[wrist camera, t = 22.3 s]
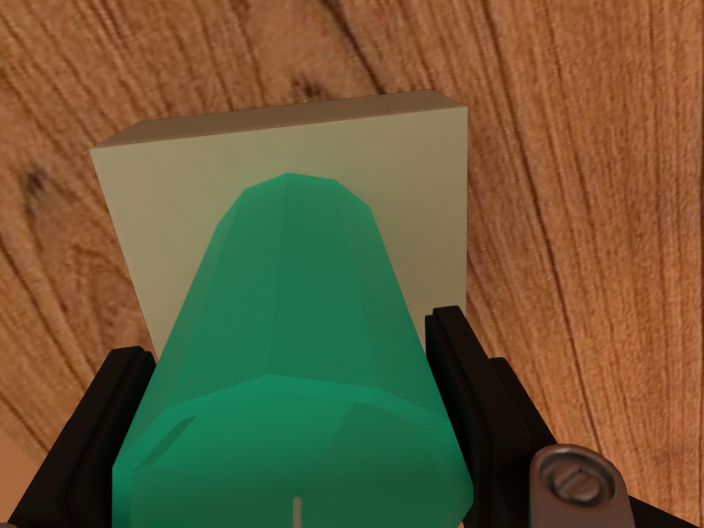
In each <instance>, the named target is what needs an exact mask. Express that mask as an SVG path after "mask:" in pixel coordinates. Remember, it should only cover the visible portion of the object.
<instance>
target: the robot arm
mask: <svg viewBox="0 0 704 528" xmlns="http://www.w3.org/2000/svg"><path fill="white" fill-rule="evenodd" d="M425 346H426V358H427V361H428V363H429V366H430V369H431V371H432V374H433V377H434V379H435V382H436V385H437V387H438V390H439V393H440V395H441V398H442V401H443V403H444V406H445V409H446V411H447V414H448V417H449V419H450V422H451V425H452V428H453V430H454V433H455V436H456V439H457V441H458V444H459V447H460V450H461V452H462V455H463V458H464V461H465V463H466V466H467V469H468V472H469V474H470V477H471V480H472V483H473V496H474V498H473V504H472V507H471V508H470V509H469V511H468V512H467V514H466V515H465V517H464V518H463V520H462V522H463V525H464V528H700V527H697V526H695V525H693V524H691V523H689V522H687V521H684V520H682V519H680V518H678V517H676V516H673V515H671V514H669V513H667V512H665V511H662V510H660V509H658V508H656V507H654V506H651V505H649V504H647V503H645V502H643V501H640V500H638V499H636V498H634V497H632V496H629V495H628V492H627V488H626V484H625V482H624V480H623V477H622V475H621V473H620V472H619V471H618V470H617V468H616V467H615V466H614V465H613V464H612V462H610V461H609V460H607V459H606V458H605V457H603V456H602V455H601V454H599V453H597V452H595V451H593V450H591V449H589V448H586V447H583V446H579V445H575V444H558V443H557V441H556V440H555V438H554V437H553V435H552V433H551V432H550V430H549V428H548V427H547V425H546V423H545V422H544V420H543V419H542V417H541V415H540V414H539V412H538V410H537V409H536V407H535V405H534V404H533V402H532V401H531V399H530V397H529V396H528V394H527V392H526V391H525V389H524V388H523V386H522V384H521V383H520V381H519V379H518V378H517V376H516V374H515V373H514V371H513V370H512V368H511V366H510V365H509V363H508V362H507V360H506V359H505V358H503V357H498V358H490V359H488V357H487V355H486V353H485V352H484V350H483V348H482V346H481V345H480V343H479V341H478V339H477V337H476V336H475V334H474V332H473V330H472V328H471V327H470V325H469V323H468V321H467V319H466V318H465V316H464V314H463V312H462V311H461V309H460V307H459V306H458V305H453V306H445V307H437V308H433V312H432V315H426V316H425ZM155 368H156V363H155V360H154V357H153V355H152V353H151V352H150V351H145V352H144V350H143V348H142V347H140V346H133V347H125V348H118V349H113V350H111V351H110V353H109V354H108V356H107V358H106V359H105V361H104V363H103V364H102V366H101V368H100V369H99V371H98V373H97V374H96V376H95V378H94V379H93V381H92V383H91V384H90V386H89V388H88V389H87V391H86V393H85V395H84V396H83V398H82V400H81V401H80V403H79V405H78V406H77V408H76V410H75V411H74V413H73V415H72V416H71V418H70V419H69V420H68V422H67V423H66V425H65V427H64V428H63V430H62V432H61V433H60V435H59V437H58V438H57V440H56V442H55V443H54V445H53V447H52V448H51V450H50V452H49V453H48V455H47V457H46V458H45V460H44V462H43V463H42V465H41V467H40V468H39V470H38V472H37V473H36V475H35V477H34V478H33V480H32V482H31V483H30V485H29V487H28V488H27V490H26V492H25V493H24V495H23V497H22V498H21V500H20V502H19V503H18V505H17V507H16V508H15V510H14V512H13V513H12V515H11V517H10V519H9V520H8V522H7V523H0V528H112V469H113V465H114V463H115V460H116V458H117V456H118V454H119V451H120V449H121V447H122V444H123V442H124V440H125V437H126V435H127V433H128V430H129V428H130V426H131V423H132V421H133V419H134V416H135V414H136V412H137V409H138V407H139V405H140V403H141V400H142V398H143V396H144V393H145V391H146V389H147V386H148V384H149V382H150V379H151V377H152V375H153V372H154V370H155Z"/></svg>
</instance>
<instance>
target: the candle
mask: <svg viewBox="0 0 704 528" xmlns="http://www.w3.org/2000/svg"><path fill="white" fill-rule="evenodd" d="M473 498H474V496H473V483H472V480H471V477H470V474H469V472H468V469H467V466H466V463H465V461H464V458H463V455H462V452H461V450H460V447H459V444H458V441H457V439H456V436H455V433H454V430H453V428H452V425H451V422H450V419H449V417H448V414H447V411H446V409H445V406H444V403H443V401H442V398H441V395H440V393H439V390H438V387H437V385H436V382H435V379H434V377H433V374H432V371H431V369H430V366H429V363H428V361H427V358H426V355H425V353H424V350H423V347H422V345H421V342H420V339H419V337H418V334H417V331H416V329H415V326H414V323H413V321H412V318H411V315H410V313H409V310H408V307H407V305H406V302H405V299H404V297H403V294H402V291H401V289H400V286H399V283H398V281H397V278H396V275H395V273H394V270H393V267H392V265H391V262H390V259H389V257H388V254H387V251H386V249H385V246H384V243H383V241H382V238H381V235H380V233H379V230H378V227H377V224H376V222H375V219H374V216H373V214H372V211H371V208H370V207H369V206H368V205H367V204H365V203H364V202H363V201H362V200H360V199H359V198H358V197H357V196H355V195H354V194H353V193H352V192H350V191H349V190H348V189H346V188H345V187H344V186H343V185H341V184H340V183H339V182H338V181H336V180H335V179H329V178H322V177H315V176H309V175H302V174H295V173H285V174H283V175H280V176H277V177H275V178H272V179H270V180H267V181H264V182H262V183H259V184H257V185H254V186H251V187H249V188H246V189H244V190H243V191H242V193H241V194H240V195H239V197H238V198H237V199H236V201H235V202H234V203H233V205H232V206H231V207H230V208H229V210H228V211H227V212H226V214H225V215H224V216H223V218H222V219H221V220H220V221H219V223H218V224H217V226H216V229H215V231H214V233H213V236H212V238H211V240H210V243H209V245H208V247H207V250H206V252H205V254H204V257H203V259H202V261H201V264H200V266H199V268H198V270H197V273H196V275H195V277H194V280H193V282H192V284H191V287H190V289H189V291H188V294H187V296H186V298H185V301H184V303H183V305H182V308H181V310H180V312H179V314H178V317H177V319H176V321H175V324H174V326H173V328H172V331H171V333H170V335H169V338H168V340H167V342H166V345H165V347H164V349H163V352H162V354H161V356H160V359H159V361H158V363H157V365H156V368H155V370H154V372H153V375H152V377H151V379H150V382H149V384H148V386H147V389H146V391H145V393H144V396H143V398H142V400H141V403H140V405H139V407H138V409H137V412H136V414H135V416H134V419H133V421H132V423H131V426H130V428H129V430H128V433H127V435H126V437H125V440H124V442H123V444H122V447H121V449H120V451H119V454H118V456H117V458H116V460H115V463H114V465H113V469H112V528H457V527H458V526H459V524H460V523H461V521H462V520H463V518H464V517H465V515H466V514H467V512H468V511H469V509H470V508H471V507H472V504H473Z"/></svg>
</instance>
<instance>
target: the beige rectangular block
mask: <svg viewBox="0 0 704 528" xmlns="http://www.w3.org/2000/svg"><path fill="white" fill-rule="evenodd" d="M89 152H90V155H91V158H92V161H93V164H94V167H95V170H96V173H97V176H98V179H99V182H100V185H101V188H102V191H103V194H104V197H105V200H106V203H107V206H108V209H109V212H110V215H111V218H112V221H113V224H114V228H115V231H116V234H117V237H118V240H119V243H120V246H121V249H122V252H123V255H124V258H125V261H126V264H127V267H128V270H129V273H130V276H131V279H132V282H133V285H134V288H135V291H136V294H137V297H138V300H139V303H140V306H141V309H142V313H143V316H144V319H145V322H146V325H147V328H148V331H149V334H150V337H151V340H152V343H153V346H154V349H155V352H156V355H157V358H158V361H159V359H160V356H161V354H162V352H163V349H164V347H165V345H166V342H167V340H168V338H169V335H170V333H171V331H172V328H173V326H174V324H175V321H176V319H177V317H178V314H179V312H180V310H181V308H182V305H183V303H184V301H185V298H186V296H187V294H188V291H189V289H190V287H191V284H192V282H193V280H194V277H195V275H196V273H197V270H198V268H199V266H200V264H201V261H202V259H203V257H204V254H205V252H206V250H207V247H208V245H209V243H210V240H211V238H212V236H213V233H214V231H215V229H216V226H217V224H218V223H219V221H220V220H221V219H222V218H223V216H224V215H225V214H226V212H227V211H228V210H229V208H230V207H231V206H232V205H233V203H234V202H235V201H236V199H237V198H238V197H239V195H240V194H241V193H242V191H243V190H244V189H246V188H249V187H251V186H254V185H257V184H259V183H262V182H264V181H267V180H270V179H272V178H275V177H277V176H280V175H283V174H285V173H295V174H302V175H309V176H315V177H322V178H329V179H335V180H336V181H338V182H339V183H340V184H341V185H343V186H344V187H345V188H346V189H348V190H349V191H350V192H352V193H353V194H354V195H355V196H357V197H358V198H359V199H360V200H362V201H363V202H364V203H365V204H367V205H368V206H369V207H370V208H371V211H372V214H373V216H374V219H375V222H376V224H377V227H378V230H379V233H380V235H381V238H382V241H383V243H384V246H385V249H386V251H387V254H388V257H389V259H390V262H391V265H392V267H393V270H394V273H395V275H396V278H397V281H398V283H399V286H400V289H401V291H402V294H403V297H404V299H405V302H406V305H407V307H408V310H409V313H410V315H411V318H412V321H413V323H414V326H415V329H416V331H417V334H418V337H419V339H420V342H421V345H422V347H423V350H424V353H425V355H426V346H425V316H426V315H432V312H433V308H437V307H445V306H453V305H458V306H459V307H460V309H461V311H462V312H463V314H464V316H465V318H466V267H467V161H468V107H467V106H465V105H463V104H461V103H459V102H456V101H454V100H452V99H450V98H448V97H446V96H444V95H442V94H439V93H437V92H435V91H433V90H431V89H429V90H420V91H411V92H402V93H393V94H384V95H375V96H366V97H357V98H348V99H339V100H330V101H321V102H312V103H303V104H294V105H285V106H276V107H267V108H258V109H249V110H240V111H231V112H222V113H213V114H204V115H195V116H186V117H176V118H167V119H158V120H149V121H140V122H137V123H135V124H133V125H132V126H130V127H128V128H126V129H124V130H123V131H121V132H119V133H117V134H115V135H114V136H112V137H110V138H108V139H107V140H105V141H103V142H101V143H99V144H97V145H96V146H94V147H92V148H90V149H89Z"/></svg>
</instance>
